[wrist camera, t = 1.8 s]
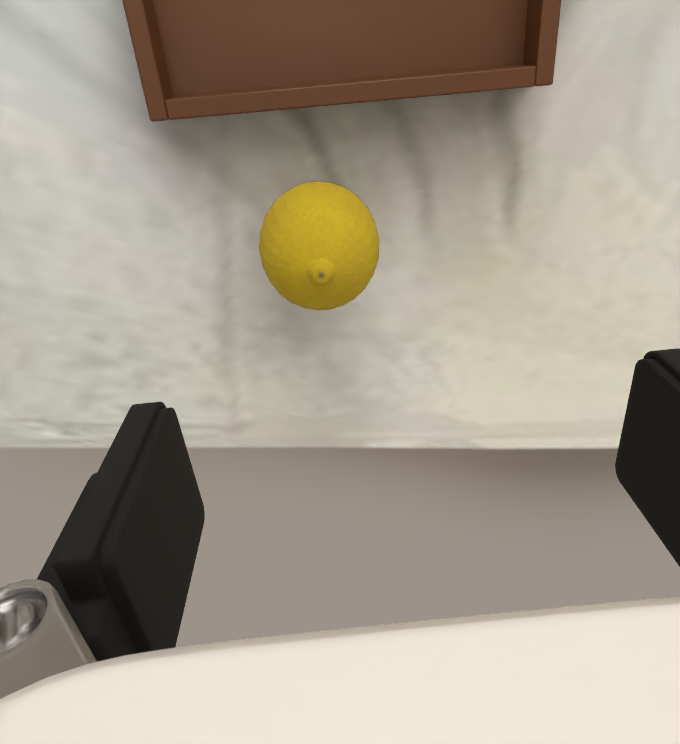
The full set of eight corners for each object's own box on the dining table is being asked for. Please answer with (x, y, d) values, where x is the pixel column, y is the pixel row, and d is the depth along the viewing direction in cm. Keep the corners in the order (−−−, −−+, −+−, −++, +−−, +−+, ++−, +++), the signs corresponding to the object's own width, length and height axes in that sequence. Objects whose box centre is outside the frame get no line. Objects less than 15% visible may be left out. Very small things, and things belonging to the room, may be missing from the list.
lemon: (391, 219, 29) (417, 272, 22) (320, 291, 31) (323, 360, 24) (315, 142, 27) (317, 174, 20) (243, 224, 29) (223, 279, 22)
